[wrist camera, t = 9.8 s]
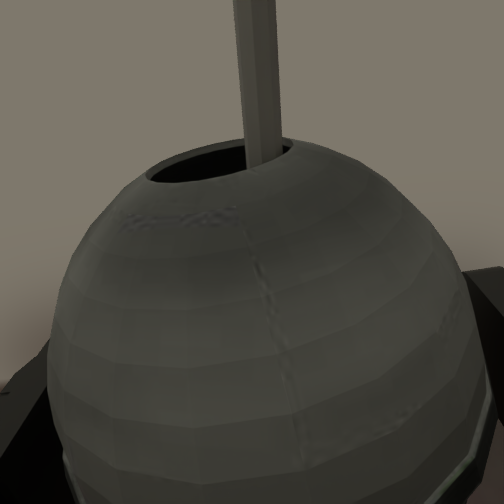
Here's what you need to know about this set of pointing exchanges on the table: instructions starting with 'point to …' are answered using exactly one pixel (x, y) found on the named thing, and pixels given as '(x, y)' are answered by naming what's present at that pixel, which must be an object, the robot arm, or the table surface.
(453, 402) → the beverage cup
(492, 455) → the table surface
